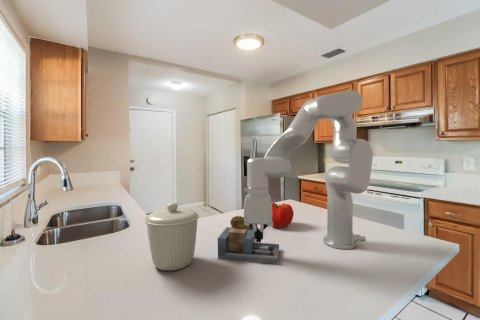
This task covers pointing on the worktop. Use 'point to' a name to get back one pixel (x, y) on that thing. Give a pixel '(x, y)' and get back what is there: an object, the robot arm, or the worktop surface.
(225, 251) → the vise bed
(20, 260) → the worktop surface
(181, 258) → the canister
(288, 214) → the tomato
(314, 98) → the robot arm
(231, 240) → the walnut block
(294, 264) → the worktop surface
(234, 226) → the potato
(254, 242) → the sliding jaw
